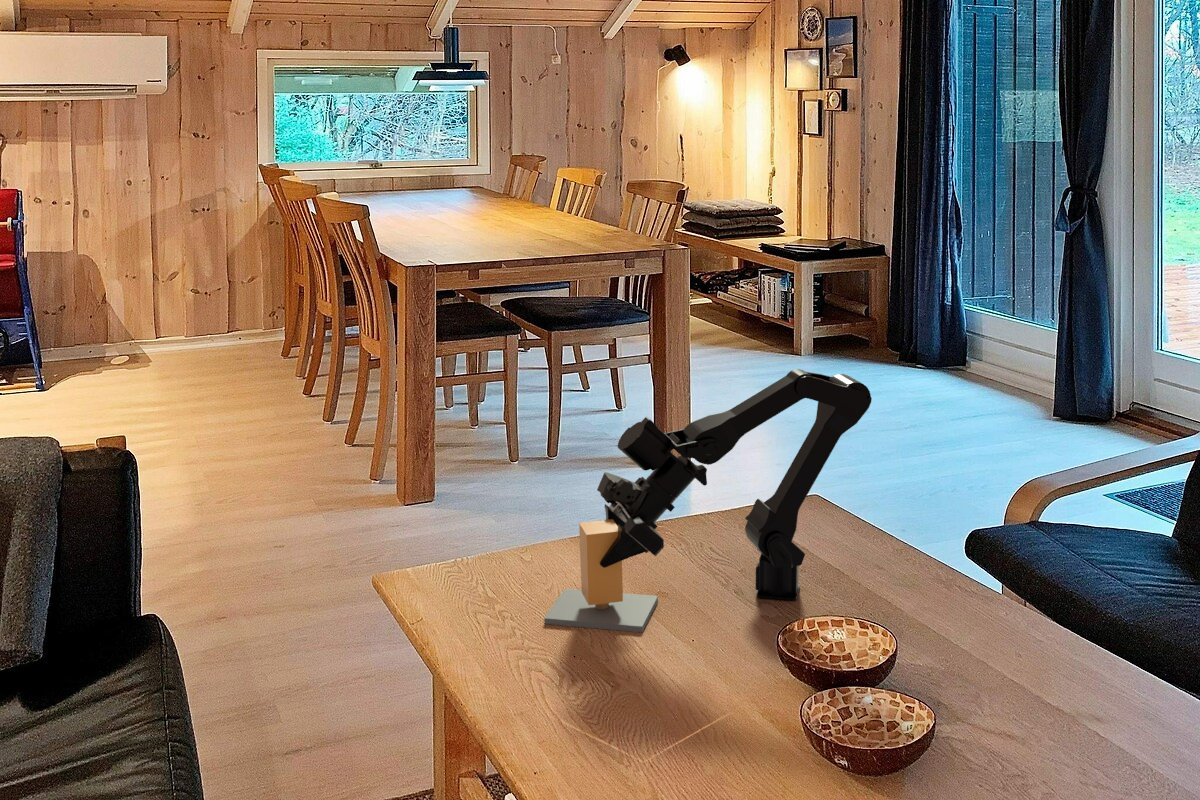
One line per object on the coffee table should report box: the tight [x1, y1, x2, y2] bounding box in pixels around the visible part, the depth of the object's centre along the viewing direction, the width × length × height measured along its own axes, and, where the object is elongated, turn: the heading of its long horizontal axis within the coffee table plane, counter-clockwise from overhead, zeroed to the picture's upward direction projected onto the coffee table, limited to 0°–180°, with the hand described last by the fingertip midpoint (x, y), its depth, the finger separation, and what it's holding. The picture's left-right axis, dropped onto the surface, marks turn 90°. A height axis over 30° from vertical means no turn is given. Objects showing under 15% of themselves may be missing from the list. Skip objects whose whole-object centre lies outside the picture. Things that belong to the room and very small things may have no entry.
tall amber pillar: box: [578, 519, 624, 605], centre depth 208 cm, size 6×6×12 cm
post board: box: [543, 588, 659, 633], centre depth 210 cm, size 16×12×4 cm
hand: (597, 558), depth 208 cm, fingers closed on tall amber pillar, 6 cm apart
